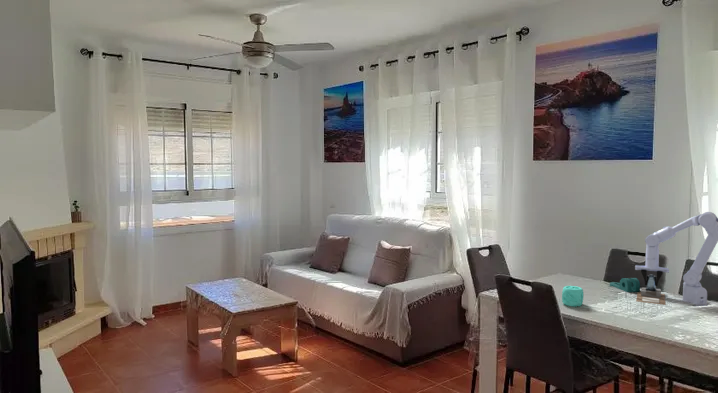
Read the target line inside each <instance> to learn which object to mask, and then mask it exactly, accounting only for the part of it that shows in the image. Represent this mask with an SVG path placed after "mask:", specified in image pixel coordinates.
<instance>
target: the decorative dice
mask: <svg viewBox="0 0 718 393" xmlns="http://www.w3.org/2000/svg"><path fill="white" fill-rule="evenodd" d="M561 302H562V303H563V304H564V305H566V306H568V307H573V308H575V307H576V308H577V306H578V307H581V306H582V305H583V303H584V289H583V288H582V287H580V286H577V285H576V286H575V285H566V286H563V288H562V293H561Z"/></svg>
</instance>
